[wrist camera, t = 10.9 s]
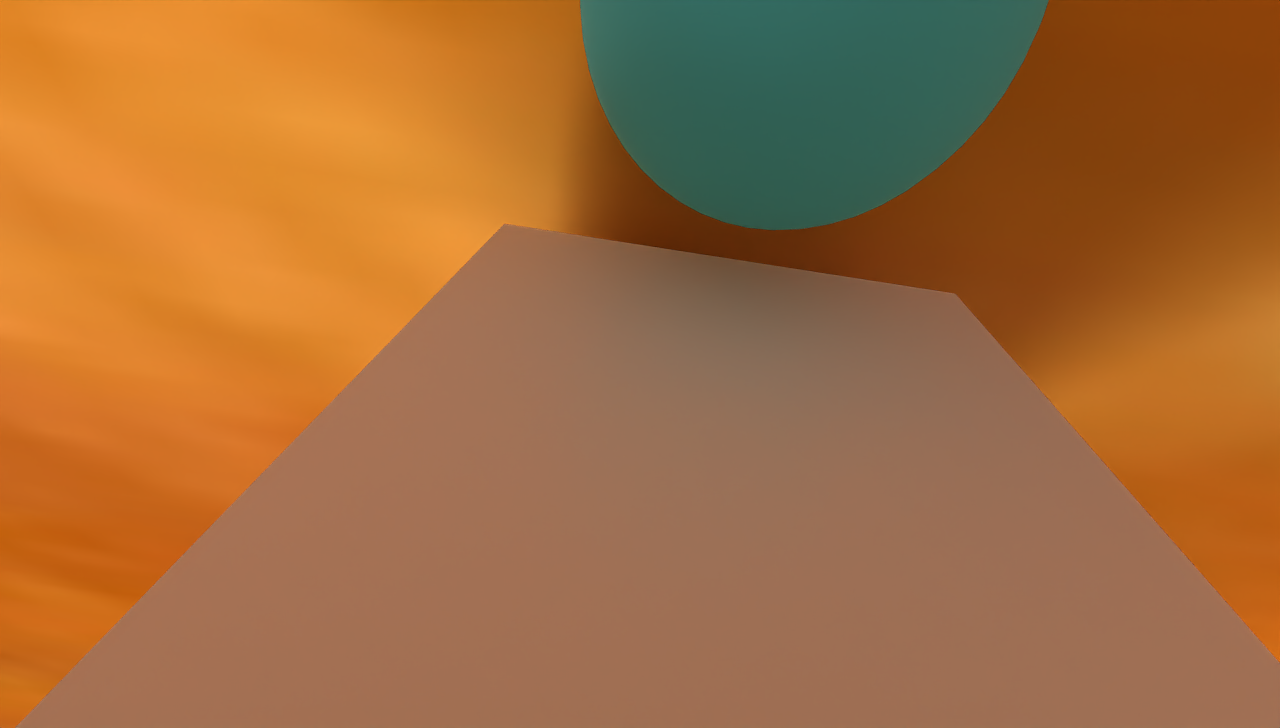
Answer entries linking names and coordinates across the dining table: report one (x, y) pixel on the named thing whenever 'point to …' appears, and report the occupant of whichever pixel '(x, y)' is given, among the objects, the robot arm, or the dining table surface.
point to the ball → (799, 96)
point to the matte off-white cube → (679, 529)
